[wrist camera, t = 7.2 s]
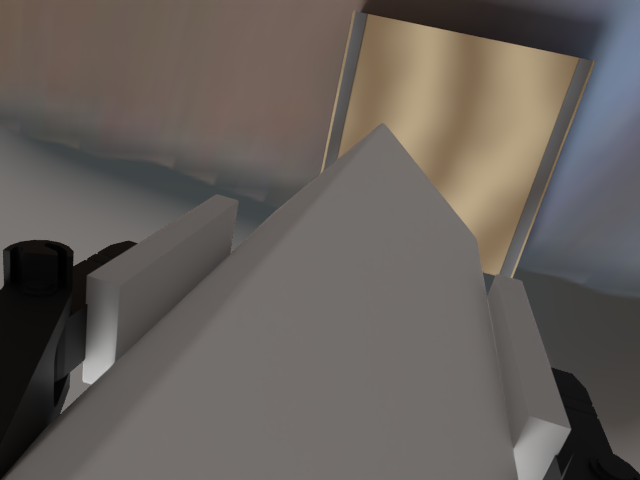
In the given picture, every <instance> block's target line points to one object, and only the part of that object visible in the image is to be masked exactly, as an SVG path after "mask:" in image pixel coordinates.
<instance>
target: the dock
mask: <svg viewBox="0 0 640 480" xmlns="http://www.w3.org/2000/svg"><path fill="white" fill-rule="evenodd" d="M594 64H595V61H593V60H588V59H583V58H578V57H573V56H568V55H563V54H559V53H554V52H549V51H544V50H539V49H535V48H530V47H525V46H520V45H515V44H511V43H506V42H501V41H496V40H491V39H486V38H482V37H477V36H472V35H467V34H462V33H458V32H453V31H448V30H443V29H438V28H434V27H429V26H424V25H419V24H414V23H409V22H405V21H400V20H395V19H390V18H385V17H381V16H376V15H371V14H367V13H362V12H357V11H353V15H352V20H351V25H350V30H349V35H348V40H347V45H346V50H345V55H344V60H343V65H342V70H341V75H340V80H339V85H338V90H337V95H336V100H335V105H334V110H333V115H332V120H331V125H330V129H329V134H328V139H327V144H326V149H325V154H324V159H323V164H322V169H321V173H322V172H323V171H324V170H326V169H327V168H328V167H329V166H330V165H332V164H333V163H334V162H335V161H336V160H338V159H339V158H340V157H341V156H342V155H344V154H345V153H346V152H347V151H348V150H350V149H351V148H352V147H353V146H355V145H356V144H357V143H358V142H359V141H361V140H362V139H363V138H364V137H365V136H367V135H368V134H369V133H370V132H371V131H373V130H374V129H375V128H376V127H377V126H379V125H380V124H381V123H384V124H385V125H386V126H387V127H388V128H389V129H390V131H391V132H392V133H393V134H394V136H395V137H396V138H397V139H398V141H399V142H400V143H401V144H402V146H403V147H404V148H405V149H406V151H407V152H408V153H409V155H410V156H411V157H412V158H413V160H414V161H415V162H416V163H417V165H418V166H419V167H420V168H421V170H422V171H423V172H424V173H425V175H426V176H427V177H428V178H429V180H430V181H431V182H432V183H433V185H434V186H435V187H436V188H437V190H438V191H439V192H440V193H441V195H442V196H443V197H444V198H445V200H446V201H447V202H448V203H449V205H450V206H451V207H452V208H453V210H454V211H455V212H456V213H457V215H458V216H459V217H460V218H461V220H462V221H463V222H464V223H465V225H466V226H467V227H468V228H469V230H470V231H471V232H472V233H473V235H474V236H475V237H476V239H477V243H478V249H479V255H480V261H481V266H482V272H484V273H488V274H492V275H495V276H496V274H499V275H502V276H506V277H509V278H512V277H513V275H514V272H515V270H516V267H517V264H518V262H519V259H520V257H521V254H522V251H523V249H524V246H525V244H526V241H527V238H528V236H529V233H530V231H531V228H532V225H533V223H534V220H535V218H536V215H537V212H538V210H539V207H540V205H541V202H542V199H543V197H544V194H545V191H546V189H547V186H548V184H549V181H550V178H551V176H552V173H553V171H554V168H555V165H556V163H557V160H558V158H559V155H560V152H561V150H562V147H563V145H564V142H565V139H566V137H567V134H568V132H569V129H570V126H571V124H572V121H573V119H574V116H575V113H576V111H577V108H578V106H579V103H580V100H581V98H582V95H583V92H584V90H585V87H586V85H587V82H588V79H589V77H590V74H591V72H592V69H593V66H594Z"/></svg>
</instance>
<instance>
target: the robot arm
mask: <svg viewBox="0 0 640 480" xmlns="http://www.w3.org/2000/svg"><path fill="white" fill-rule="evenodd" d="M237 207H238V200H235V199H231V198H228V197H223V196H221V195H215V196H213V197H212V198H210V199H208V200H207V201H205V202H204V203H202V204H201V205H199V206H198V207H196V208H194V209H192V210H191V211H190V212H188V213H186V214H184V215H183V216H181V217H180V218H178V219H176V220H175V221H173V222H172V223H170V224H169V225H167V226H165V227H164V228H162V229H160V230H159V231H157V232H156V233H154V234H152V235H151V236H149V237H148V238H146V239H144V240H143V241H141V242H140V243H134V242H132V241H125V242H121V243H117V244H113V245H110V246H108V247H106V248H105V249H103V250H101V251H99V252H98V254H94V255H92V256H91V257H89V258H88V259H87V260H84V261H82V262H80V263H79V264H77V265H75V266H73V253H74V252H73V250H72V249H71V248H70V247H69V246H67V245H64V244H62V243H59V242H54V241H49V240H30V241H22V242H19V243H15V244H13V245H10V246H8V247H7V248H5V249H4V250H3V265H4V286H3V288H2V289H1V290H0V480H1V478H2V477H3V476H4V475H5V474H6V473H7V472H8V470H9V469H10V468H11V467H12V466H13V465H14V464H15V462H16V461H17V460H18V459H19V458H20V457H21V456H22V454H23V453H24V452H25V451H26V450H27V449H28V448H29V446H30V445H31V444H32V443H33V442H34V441H35V440H36V438H37V437H38V436H39V435H40V434H41V433H42V432H43V430H44V429H45V428H46V427H47V426H48V425H50V424H51V423H52V422H53V421H54V420H55V419H56V418H57V417H58V416H59V415H60V412H61V410H62V407H63V404H64V402H65V398H66V396H67V393H68V390H69V387H70V372H71V371H72V370H73V369H74V368H75V367H76V366H78V365H79V364H80V363H81V362H82V361H83V382H86V383H88V384H91V385H92V384H93V383H94V382H95V381H96V380H97V379H98V378H99V377H100V376H101V375H102V374H104V373H105V372H106V371H107V370H108V369H109V368H110V367H111V366H112V365H113V364H114V363H115V362H116V361H117V360H118V359H119V358H120V357H121V356H123V355H124V354H125V353H126V352H127V351H128V350H129V349H130V348H131V347H132V346H133V345H134V344H135V343H136V342H137V341H138V340H139V339H141V338H142V337H143V336H144V335H145V334H146V333H147V332H148V331H149V330H150V329H151V328H152V327H153V326H154V325H155V324H156V323H157V322H159V321H160V320H161V319H162V318H163V317H164V316H165V315H166V314H167V313H168V312H169V311H170V310H171V309H172V308H173V307H174V306H175V305H177V304H178V303H179V302H180V301H181V300H182V299H183V298H184V297H185V296H186V295H187V294H188V293H189V292H190V291H191V290H192V289H193V288H195V287H196V286H197V285H198V284H199V283H200V282H201V281H202V280H203V279H204V278H205V277H206V276H207V275H208V274H209V273H210V272H211V271H213V270H214V269H215V268H216V267H217V266H218V265H219V264H220V263H221V262H222V261H223V260H224V259H225V258H226V257H227V256H228V255H229V254H230V252H231V245H232V239H233V233H234V226H235V220H236V214H237ZM487 301H488V307H489V313H490V318H491V324H492V330H493V336H494V341H495V347H496V353H497V359H498V364H499V370H500V376H501V382H502V387H503V393H504V399H505V405H506V411H507V416H508V422H509V428H510V434H511V439H512V445H513V451H514V457H515V462H516V468H517V474H518V480H640V474H639V473H638V472H637V471H636V470H635V469H634V468H633V467H632V466H631V465H630V464H629V463H627V462H625V461H624V460H623V459H621V458H620V457H618V456H617V455H615V454H613V452H612V450H611V447H610V445H609V443H608V440H607V438H606V435H605V433H604V431H603V428H602V426H601V423H600V421H599V419H597V414H596V412H595V409H594V407H592V402H591V400H590V397H589V395H588V392H587V390H586V388H585V387H584V386H583V385H582V384H581V383H580V382H579V381H578V380H577V378H575V376H574V375H573V374H571V373H568V372H564V371H561V370H558V369H555V368H551V367H550V364H549V361H548V358H547V355H546V352H545V349H544V346H543V343H542V340H541V337H540V334H539V331H538V328H537V326H536V322H535V319H534V316H533V313H532V310H531V307H530V305H529V301H528V298H527V295H526V292H525V289H524V286H523V284H522V281H520V280H517V279H513V278H509V277H506V276H502V275H499V274H496V276H495V278H494V281H493V284H492V286H491V289H490V291H489V294H488V297H487Z"/></svg>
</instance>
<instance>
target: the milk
mask: <svg viewBox="0 0 640 480" xmlns="http://www.w3.org/2000/svg"><path fill="white" fill-rule="evenodd" d="M1 480H518V474H517V468H516V462H515V457H514V451H513V445H512V439H511V434H510V428H509V422H508V416H507V411H506V405H505V399H504V393H503V387H502V382H501V376H500V370H499V364H498V359H497V353H496V347H495V341H494V336H493V330H492V324H491V318H490V313H489V307H488V301H487V296H486V290H485V284H484V278H483V272H482V266H481V261H480V255H479V249H478V243H477V239H476V237H475V236H474V235H473V233H472V232H471V231H470V230H469V228H468V227H467V226H466V225H465V223H464V222H463V221H462V220H461V218H460V217H459V216H458V215H457V213H456V212H455V211H454V210H453V208H452V207H451V206H450V205H449V203H448V202H447V201H446V200H445V198H444V197H443V196H442V195H441V193H440V192H439V191H438V190H437V188H436V187H435V186H434V185H433V183H432V182H431V181H430V180H429V178H428V177H427V176H426V175H425V173H424V172H423V171H422V170H421V168H420V167H419V166H418V165H417V163H416V162H415V161H414V160H413V158H412V157H411V156H410V155H409V153H408V152H407V151H406V149H405V148H404V147H403V146H402V144H401V143H400V142H399V141H398V139H397V138H396V137H395V136H394V134H393V133H392V132H391V131H390V129H389V128H388V127H387V126H386V125H385V124H384V123H381V124H380V125H379V126H377V127H376V128H375V129H374V130H373V131H371V132H370V133H369V134H368V135H367V136H365V137H364V138H363V139H362V140H361V141H359V142H358V143H357V144H356V145H355V146H353V147H352V148H351V149H350V150H348V151H347V152H346V153H345V154H344V155H342V156H341V157H340V158H339V159H338V160H336V161H335V162H334V163H333V164H332V165H330V166H329V167H328V168H327V169H326V170H324V171H323V172H322V173H321V174H320V175H318V176H317V177H316V178H315V179H314V180H312V181H311V182H310V183H309V184H307V185H306V186H305V187H304V188H303V189H301V190H300V191H299V192H298V193H297V194H295V195H294V196H293V197H292V198H291V199H289V200H288V201H287V202H286V203H285V204H283V205H282V206H281V207H280V208H279V209H277V210H276V211H275V212H274V213H273V214H272V215H271V216H270V217H269V218H268V219H267V220H265V221H264V223H262V224H261V225H260V226H259V227H258V228H257V229H256V230H255V231H254V232H253V233H252V234H251V235H250V236H249V237H248V238H246V239H245V240H244V241H243V242H242V243H241V244H240V245H239V246H238V247H237V248H236V249H235V250H234V251H233V252H232V253H231V254H229V255H228V256H227V257H226V258H225V259H224V260H223V261H222V262H221V263H220V264H219V265H218V266H217V267H216V268H215V269H214V270H213V271H211V272H210V273H209V274H208V275H207V276H206V277H205V278H204V279H203V280H202V281H201V282H200V283H199V284H198V285H197V286H196V287H195V288H193V289H192V290H191V291H190V292H189V293H188V294H187V295H186V296H185V297H184V298H183V299H182V300H181V301H180V302H179V303H178V304H177V305H175V306H174V307H173V308H172V309H171V310H170V311H169V312H168V313H167V314H166V315H165V316H164V317H163V318H162V319H161V320H160V321H159V322H157V323H156V324H155V325H154V326H153V327H152V328H151V329H150V330H149V331H148V332H147V333H146V334H145V335H144V336H143V337H142V338H141V339H139V340H138V341H137V342H136V343H135V344H134V345H133V346H132V347H131V348H130V349H129V350H128V351H127V352H126V353H125V354H124V355H123V356H121V357H120V358H119V359H118V360H117V361H116V362H115V363H114V364H113V365H112V366H111V367H110V368H109V369H108V370H107V371H106V372H105V373H104V374H102V375H101V376H100V377H99V378H98V379H97V380H96V381H95V382H94V383H93V384H92V385H91V386H90V387H89V388H88V389H87V390H86V391H84V392H83V393H82V394H81V395H80V396H79V397H78V398H77V399H76V400H75V401H74V402H73V403H72V404H71V405H70V406H69V407H68V408H67V409H65V410H64V411H63V412H62V413H61V414H60V415H59V416H58V417H57V418H56V419H55V420H54V421H53V422H52V423H51V424H50V425H48V426H47V427H46V428H45V429H44V430H43V432H42V433H41V434H40V435H39V436H38V437H37V438H36V440H35V441H34V442H33V443H32V444H31V445H30V446H29V448H28V449H27V450H26V451H25V452H24V453H23V454H22V456H21V457H20V458H19V459H18V460H17V461H16V462H15V464H14V465H13V466H12V467H11V468H10V469H9V470H8V472H7V473H6V474H5V475H4V476H3V477H2V478H1Z"/></svg>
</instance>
